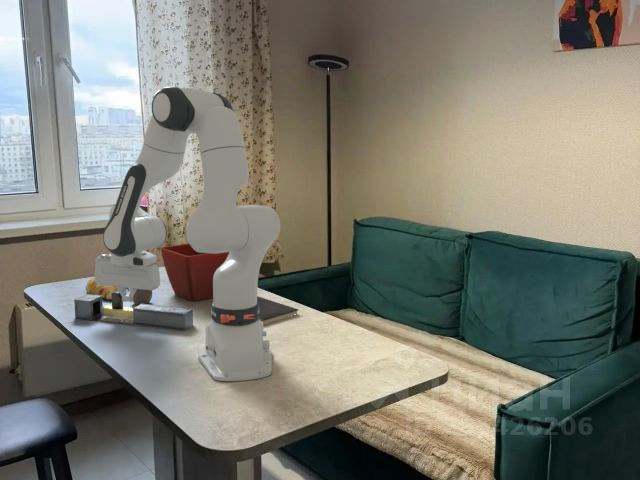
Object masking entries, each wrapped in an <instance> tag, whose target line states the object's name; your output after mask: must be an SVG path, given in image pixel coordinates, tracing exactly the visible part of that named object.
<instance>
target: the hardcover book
mask: <svg viewBox="0 0 640 480" xmlns="http://www.w3.org/2000/svg"><path fill="white" fill-rule="evenodd" d="M257 302H258V304H259V320H260V321H262V322H263V324H264V325H266V324H267V325H268V324H271V323H274V322H277V321H276V320H278V321H280V320H279V319H281V320H283V319H282V318H284V319H286V318H285V317H288V316H291V315H294V314H297V315H298V311H299V309H298V308H295V307H293V306H289V305H286V304H283V303H280V302H278V301H277V302H276V301H273V300H271V299H267V298H265V297H261V296H258V295H257ZM294 316H295V315H294ZM291 317H292V316H291ZM288 318H289V317H288ZM273 321H274V322H273ZM270 322H271V323H270Z"/></svg>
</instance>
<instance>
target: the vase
mask: <svg viewBox="0 0 640 480" xmlns="http://www.w3.org/2000/svg"><path fill="white" fill-rule="evenodd" d="M133 299H134V300H133V301H132V303H133V304H134V305H136V306H138V305H140V304H149V303H150V302H151V300H152V299H153V290H144V289H137V290H136V292H135V294H134V295H133Z"/></svg>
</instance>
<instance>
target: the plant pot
mask: <svg viewBox="0 0 640 480" xmlns="http://www.w3.org/2000/svg"><path fill="white" fill-rule="evenodd" d="M160 250H161V251H160V252H161V256H162V261H163V265H164V269H165V272H166V275H167V278H168V281H169V284H170V286H171V288H172V291H173V293H174V294H175V295H177V296H179V297H182V298H183V299H187V300H188V301H191V302H196V301H201V300H206V299H211V298H213V276H214V273H215V271H216V270H217V269H218V268H219V267H220V266H221V265H222V264H223V263H224V262H225V261H226V259H227V257H228V255H229V252H224V253H218V254H211V253H200V252H197V251H195V250H194V249H193V248H192V247H191V245H190V244H189V243H183V244H175V245H169V246H162V247H161V246H160Z"/></svg>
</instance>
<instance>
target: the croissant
mask: <svg viewBox="0 0 640 480" xmlns="http://www.w3.org/2000/svg"><path fill="white" fill-rule="evenodd" d="M85 291H86V293H87V294H90V295H100V296H102V299H104V300H112V296H111V293H112V292H115V291H118V287H115V286H106V285H97V284H96V282H95V276H94V277H92V278H91V279H90V280H88V281H87V284H86V286H85Z"/></svg>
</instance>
